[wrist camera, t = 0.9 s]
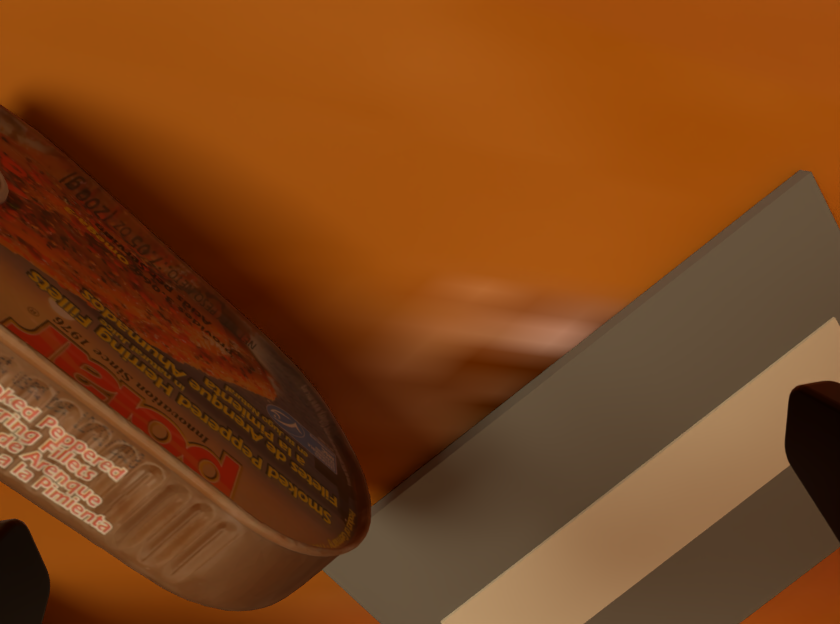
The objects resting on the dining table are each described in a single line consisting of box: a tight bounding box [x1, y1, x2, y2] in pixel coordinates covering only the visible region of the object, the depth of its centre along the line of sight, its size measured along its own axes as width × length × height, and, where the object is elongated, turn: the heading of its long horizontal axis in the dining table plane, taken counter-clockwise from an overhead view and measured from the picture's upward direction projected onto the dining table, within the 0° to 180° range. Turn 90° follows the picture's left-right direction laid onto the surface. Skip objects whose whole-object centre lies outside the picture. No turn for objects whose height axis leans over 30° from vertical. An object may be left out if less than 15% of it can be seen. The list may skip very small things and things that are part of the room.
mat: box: [322, 170, 840, 624], centre depth 25 cm, size 20×14×1 cm
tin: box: [0, 105, 371, 611], centre depth 15 cm, size 15×3×8 cm, turn 42°
